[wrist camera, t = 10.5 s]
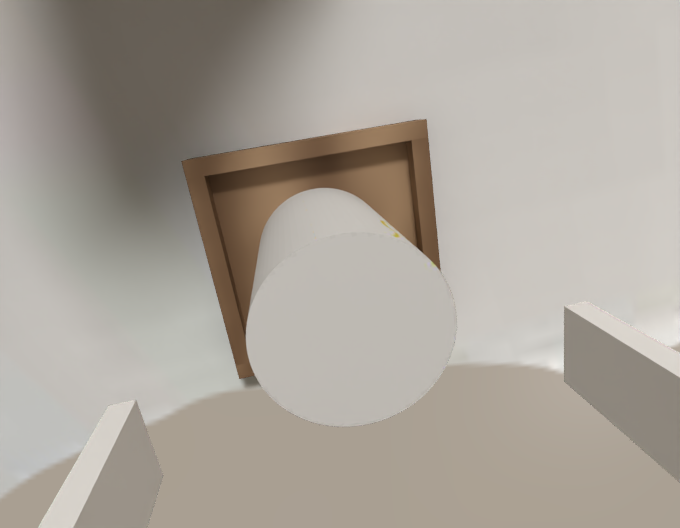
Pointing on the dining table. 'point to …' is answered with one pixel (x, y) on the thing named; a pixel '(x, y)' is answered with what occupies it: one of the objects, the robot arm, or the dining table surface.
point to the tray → (297, 176)
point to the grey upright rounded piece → (345, 312)
